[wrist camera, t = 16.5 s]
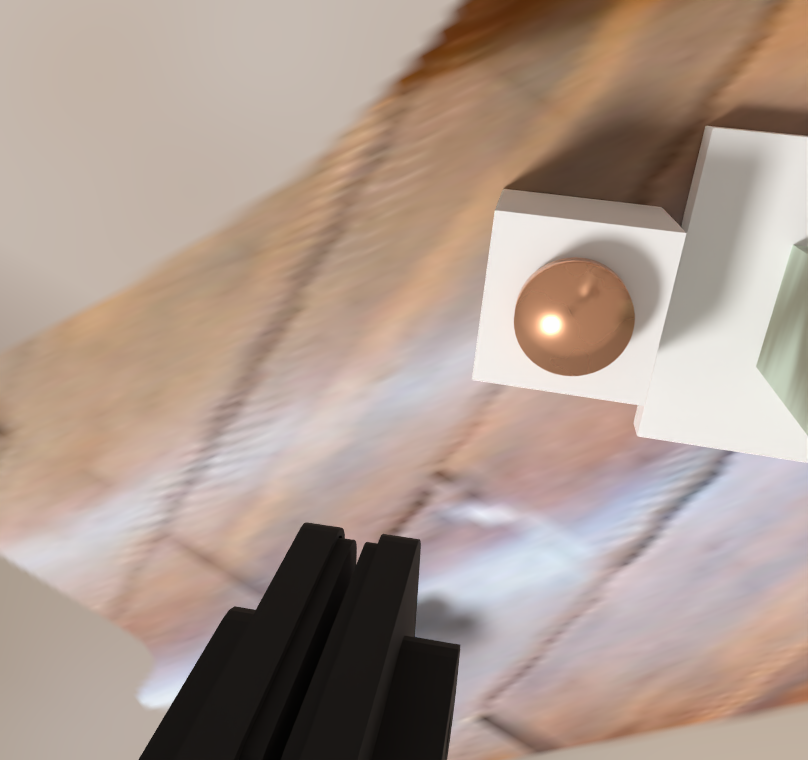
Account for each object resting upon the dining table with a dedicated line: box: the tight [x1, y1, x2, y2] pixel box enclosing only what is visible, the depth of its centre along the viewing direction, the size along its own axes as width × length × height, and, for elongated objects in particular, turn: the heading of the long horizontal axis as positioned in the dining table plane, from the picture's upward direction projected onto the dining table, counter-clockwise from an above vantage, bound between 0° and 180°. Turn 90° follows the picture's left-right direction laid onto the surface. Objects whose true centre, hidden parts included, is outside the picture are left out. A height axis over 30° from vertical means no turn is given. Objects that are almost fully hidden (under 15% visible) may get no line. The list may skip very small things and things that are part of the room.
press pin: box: [514, 257, 635, 376], centre depth 29 cm, size 4×4×6 cm
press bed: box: [472, 126, 808, 463], centre depth 30 cm, size 14×22×6 cm, turn 85°
